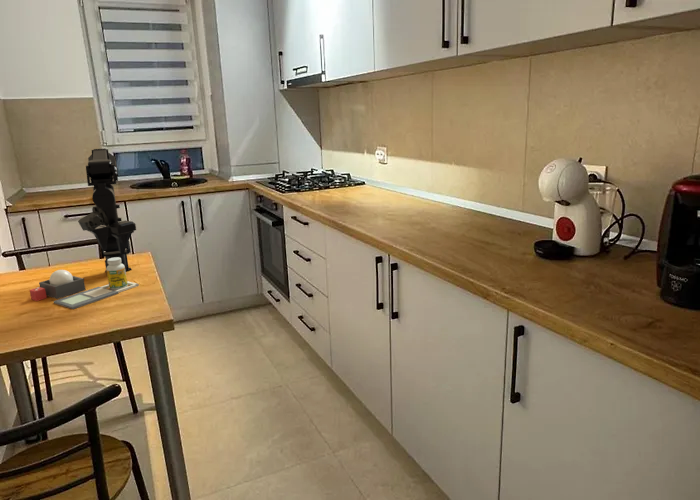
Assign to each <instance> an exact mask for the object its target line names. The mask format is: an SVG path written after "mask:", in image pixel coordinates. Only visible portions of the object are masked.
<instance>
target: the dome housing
mask: <svg viewBox="0 0 700 500" xmlns="http://www.w3.org/2000/svg"><path fill="white" fill-rule="evenodd" d="M72 277H73V280H74V281H71V282H68V283H65V284H61V285H58V286H54V285H51V284H50V281H49V280H50V279H46V280H43V281H39V282H38V284H39V286H37V287H35V288H31V289H29V294H30V295H29V296H30V299H31V300H32V301H35V302H38V301H41V300H45V299H48V297H49V298H53V299H56V300H59V299H62V298H65V297H68V296H71V295H74V294H77V293H80V292H84V291H87V290H86V284H85V280H84V279H85V278H83V277H79V276H75V275H72Z"/></svg>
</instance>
